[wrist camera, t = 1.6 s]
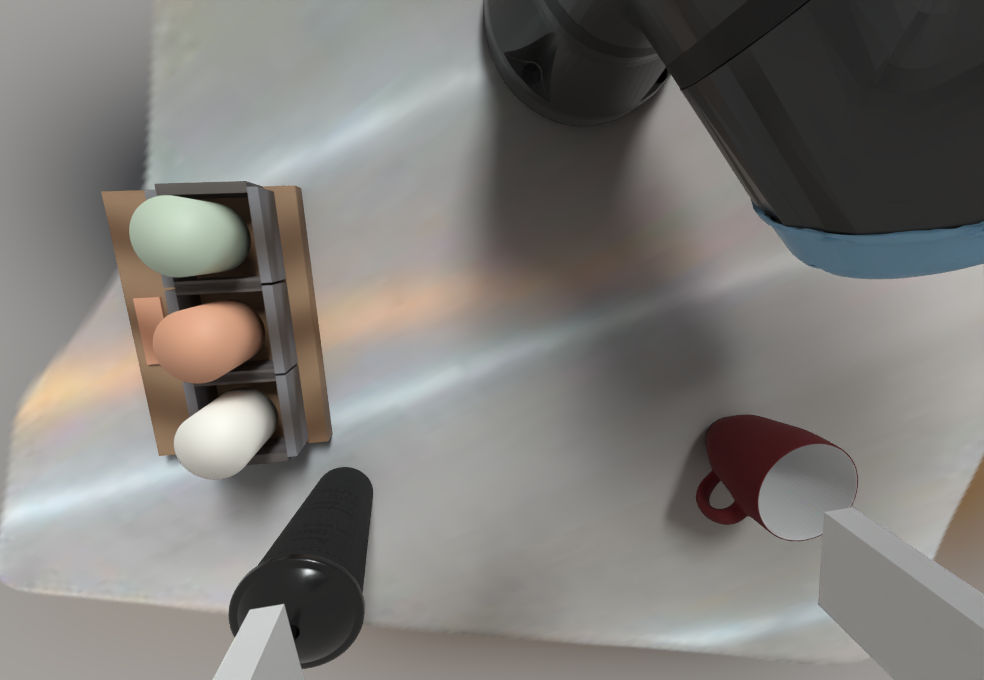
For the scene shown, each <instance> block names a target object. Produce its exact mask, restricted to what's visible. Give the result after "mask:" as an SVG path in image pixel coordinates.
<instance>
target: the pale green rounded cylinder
mask: <svg viewBox="0 0 984 680" xmlns="http://www.w3.org/2000/svg"><path fill="white" fill-rule="evenodd" d="M129 235H130V240H131V244H132V246H133V249H134V251H135V252H136V254H137V256H138V257H139V258H140V259H141V261H142V262H143V263H144V264H146V265H147V266H148V267H149V268H151V269H152V270H154V271H156V272H158V273H160V274H162V275H166V276H169V277H188V276H195V275H203V274H210V273H217V272H225V271H229V270H232V269H234V268H236V267H238V266H239V265H240V264H242V262H243V261H244V260H245V259H246V257H247V256H248V254H249V251H250V246H251V237H250V232H249V229H248V227H247V225H246V223H245V221H244V220H243V219H242V217H241V216H240V215H239V214H238V213H237V212H235V211H234V210H233V209H231V208H229V207H227V206H225V205H222V204H218V203H212V202H207V201H201V200H195V199H189V198H184V197H178V196H172V195H162V196H156V197H153V198H150V199H148V200H146V201H145V202H143V203H142V204H141V205H140V206H139V207H138V208H137V209H136V210H135V212H134V213H133V216H132V218H131V221H130V226H129Z"/></svg>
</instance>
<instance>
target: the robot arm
mask: <svg viewBox="0 0 984 680" xmlns="http://www.w3.org/2000/svg"><path fill="white" fill-rule="evenodd" d="M484 22H485V30H486V36H487V41H488V45H489V48H490V52H491V54H492V57H493V60H494V62H495V64H496V67H497V69H498V71H499V72H500V74H501V76H502V78H503V79H504V81H505V82H506V84H507V85H508V86H509V88H510V89H511V90H512V91H513V93H514V94H515V95H516V96H517V97H518V98H519V99H520V100H521V101H522V102H523V103H524V104H526V105H527V106H528V107H530V108H531V109H532V110H534V111H535V112H537V113H539V114H540V115H542V116H544V117H546V118H548V119H551V120H554V121H556V122H560V123H563V124H568V125H576V126H590V125H598V124H602V123H606V122H610V121H613V120H615V119H618V118H620V117H622V116H624V115H626V114H627V113H629V112H631V111H632V110H634V109H635V108H637V107H638V106H639V105H641V104H642V103H644V102H645V101H646V100H648V99H649V98H650V97H651V96H653V95H654V94H655V93H656V92H657V91H658V90H659V89H660V88H661V87H662V86H663V84H664V83H665V82H666V81H667V80H668V78H669V77H670V76H671V75H672V77H673V78H674V80H675V81H676V83H677V84H678V86H679V87H680V90H681V92H682V93H683V95H684V96H685V98H686V99H687V101H688V102H689V104H690V105H691V107H692V108H693V110H694V111H695V113H696V114H697V116H698V117H699V119H700V120H701V122H702V123H703V125H704V126H705V128H706V129H707V131H708V132H709V134H710V135H711V137H712V139H713V140H714V142H715V143H716V145H717V146H718V148H719V150H720V151H721V153H722V154H723V156H724V157H725V159H726V160H727V162H728V164H729V165H730V167H731V168H732V170H733V171H734V173H735V175H736V176H737V178H738V179H739V181H740V182H741V184H742V185H743V187H744V189H745V190H746V192H747V193H748V195H749V196H750V198H751V201H752V204H753V209H754V210H755V212H756V213H757V215H758V216H759V217H760V218H761V219H762V220H763V221H765V222H766V223H767V224H769V225H771V226H772V228H773V229H774V230H775V232H776V233H777V234H778V236H779V237H780V238H781V240H782V241H783V242H784V244H785V245H786V246H787V248H788V249H789V250H790V251H791V253H792V254H793V255H794V256H796V257H797V258H798V259H799V260H801V261H802V262H803V263H805V264H807V265H808V266H811V267H815V268H819V269H823V270H824V271H826V272H829V273H831V274H834V275H838V276H843V277H850V278H860V279H897V278H909V277H918V276H925V275H932V274H938V273H944V272H949V271H954V270H959V269H964V268H968V267H972V266H976V265H980V264H983V263H984V0H484ZM818 605H819V606H820V607H821V608H822V609H823V610H824V611H825V612H826V613H827V614H828V615H829V616H830V617H831V618H832V619H833V620H834V621H835V622H836V623H837V624H839V625H840V626H841V627H842V628H843V629H844V630H845V631H846V632H847V633H848V634H849V635H850V636H851V637H852V638H853V639H854V640H855V641H856V642H857V643H858V644H859V645H860V646H861V647H862V648H863V649H864V650H865V651H866V652H867V653H868V654H869V655H870V656H871V657H872V658H873V659H874V660H875V661H876V662H877V663H878V664H879V665H880V666H881V667H882V668H883V669H884V670H885V671H886V672H887V673H888V674H889V675H890V676H891V677H892V678H893V679H894V680H984V594H982V593H981V592H979V591H978V590H976V589H975V588H973V587H972V586H970V585H969V584H967V583H966V582H964V581H963V580H961V579H960V578H958V577H957V576H955V575H954V574H952V573H951V572H949V571H948V570H946V569H945V568H943V567H941V566H940V565H939V564H937V563H936V562H934V561H933V560H931V559H930V558H928V557H927V556H925V555H924V554H922V553H921V552H919V551H918V550H916V549H915V548H913V547H912V546H910V545H909V544H907V543H906V542H904V541H903V540H901V539H900V538H898V537H897V536H895V535H894V534H892V533H891V532H889V531H888V530H886V529H885V528H883V527H882V526H880V525H879V524H877V523H876V522H874V521H873V520H871V519H870V518H868V517H867V516H865V515H864V514H862V513H861V512H859V511H858V510H856V509H855V508H853V507H851V508H845V509H840V510H834V511H828V512H824V522H823V538H822V554H821V569H820V585H819V601H818ZM213 680H304V677H303V673H302V669H301V665H300V662H299V658H298V654H297V650H296V647H295V643H294V639H293V635H292V632H291V628H290V624H289V621H288V617H287V613H286V609H285V606H284V604H281V605H275V606H269V607H263V608H257V609H251V610H249V612H248V614H247V616H246V618H245V620H244V621H243V623H242V625H241V627H240V629H239V631H238V633H237V635H236V637H235V639H234V640H233V642H232V644H231V646H230V648H229V650H228V652H227V654H226V656H225V657H224V659H223V661H222V663H221V665H220V667H219V669H218V671H217V673H216V675H215V677H214V678H213Z"/></svg>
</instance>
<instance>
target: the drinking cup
mask: <svg viewBox="0 0 984 680" xmlns="http://www.w3.org/2000/svg"><path fill="white" fill-rule="evenodd" d="M372 498H373V488H372V484H371V482H370V480H369V479H368V477H367V476H366V475H365V474H363V473H362V472H361V471H359V470H357V469H354V468H349V467H341V468H336V469H333V470H331V471H329V472H327V473H326V474H325V475H324V476H323V477H322V478H321V479H320V481H319V482H318V483H317V485H316V486H315V488H314V489H313V490H312V492H311V493H310V494H309V496H308V497H307V498H306V500H305V501H304V503H303V504H302V505H301V507H300V508H299V509H298V511H297V512H296V514H295V515H294V516H293V518H292V519H291V520H290V522H289V523H288V525H287V526H286V527H285V529H284V530H283V531H282V533H281V534H280V536H279V537H278V538H277V540H276V541H275V542H274V544H273V545H272V547H271V548H270V549H269V551H268V552H267V553H266V555H265V556H264V558H263V559H262V560H261V562H260V563H259V564H258V566H257V567H255V568H254V569H252V570H251V571H250V572H249V573H248V574H247V575H246V576H245V577H244V578H243V579H242V580H241V582H240V583H239V585H238V586H237V588H236V590H235V591H234V594H233V596H232V598H231V601H230V605H229V623H230V628H231V631H232V633H233V635H234V637H236V635H237V633H238V631H239V629H240V627H241V625H242V623H243V621H244V620H245V618H246V616H247V614H248V612H249V610H251V609H257V608H263V607H269V606H275V605H281V604H284V606H285V609H286V613H287V617H288V621H289V624H290V628H291V632H292V635H293V639H294V643H295V647H296V650H297V654H298V658H299V662H300V665H301V669H306V668H312V667H316V666H319V665H322V664H325V663H327V662H329V661H331V660H333V659H335V658H337V657H338V656H340V655H341V654H342V653H344V652H345V651H346V650H347V649H348V648H349V647H350V646H351V644H352V643H353V642H354V641H355V639H356V638H357V636H358V634H359V632H360V630H361V627H362V624H363V620H364V614H365V602H364V597H363V594H362V593H363V583H364V574H365V564H366V555H367V545H368V536H369V526H370V517H371V507H372Z"/></svg>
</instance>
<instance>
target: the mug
mask: <svg viewBox="0 0 984 680" xmlns="http://www.w3.org/2000/svg"><path fill="white" fill-rule="evenodd" d="M706 447H707V453H708V458H709V461H710V464H711V467H712V471H711V472H710V473H709V474H708V475H707V476H706V477H705V478H704V479H703V481H702V482H701V483H700V485H699V487H698V489H697V493H696V501H697V504H698V507H699V509H700V510H701V512H702V513H703V514H704V515H705V516H706V517H707V518H709V519H710V520H712V521H714V522H716V523H720V524H728V525H729V524H735V523H738V522H740V521H741V520H743V519H744V518H745V517H746V516H750V517H751V518H753V519H754V520H755V521H757V522H758V523H759V524H760V525H762V526H763V527H764V528H765V529H766V530H768V531H769V532H770V533H772V534H773V535H775V536H776V537H778V538H781V539H784V540H789V541H804V540H809V539H813V538H816V537H818V536H820V535H822V534H823V522H824V512H828V511H834V510H840V509H845V508H851V506H852V504H853V502H854V500H855V497H856V493H857V488H858V474H857V470H856V466H855V464H854V462H853V460H852V459H851V457H850V456H849V455H848V454H847V453H846V452H845V451H844V450H842V449H841V448H839V447H838V446H836V445H834V444H832V443H831V442H829V441H827V440H825V439H823V438H821V437H819V436H817V435H815V434H813V433H811V432H809V431H806V430H804V429H801V428H798V427H794V426H791V425H788V424H784V423H781V422H777V421H774V420H771V419H767V418H764V417H760V416H755V415H735V416H729V417H724V418H721V419H719V420H717V421H716V422H714V423H713V424H712V425H711V427H710V428H709V430H708V432H707V435H706ZM720 481H722V482H723V484H724V485H725V486H726V488H727V489H728V490H729V492H730V493H731V495H732V496H733V498H734V500H735V502H734V503H733V504H732V505H730V506H729V507H727V508H725V509H716V508H713V507H712V506H711V505H710V503H709V498H710V495H711V493H712V491H713V489H714V488H715V486H716V485H717V484H718V483H719V482H720Z"/></svg>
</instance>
